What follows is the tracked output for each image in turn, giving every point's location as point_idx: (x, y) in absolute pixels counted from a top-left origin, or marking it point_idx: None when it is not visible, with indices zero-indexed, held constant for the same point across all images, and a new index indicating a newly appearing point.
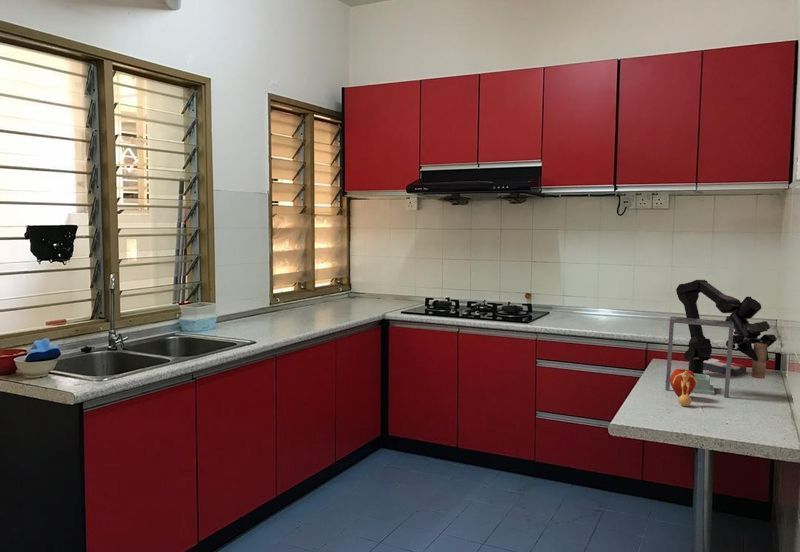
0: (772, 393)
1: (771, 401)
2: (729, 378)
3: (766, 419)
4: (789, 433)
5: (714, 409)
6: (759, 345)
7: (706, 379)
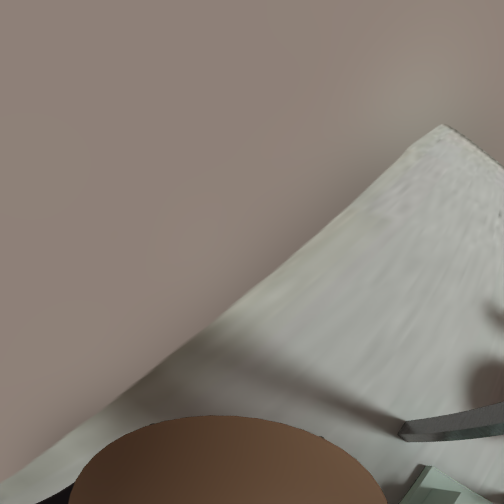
0: None
1: (258, 348)
2: (461, 413)
3: (423, 204)
4: (419, 146)
5: (500, 297)
6: (367, 472)
7: (466, 500)
